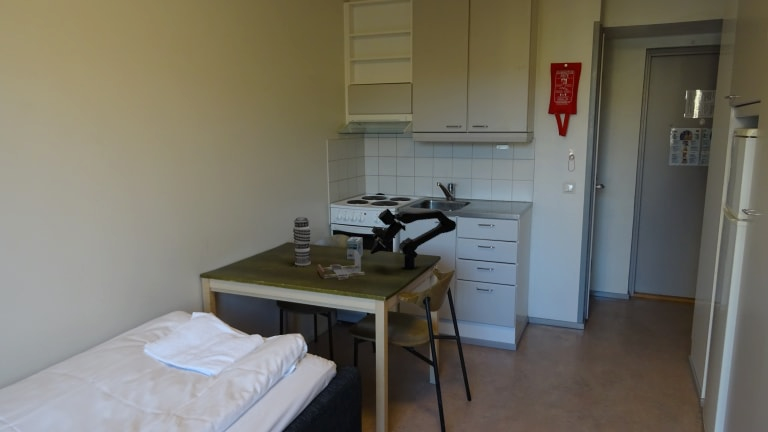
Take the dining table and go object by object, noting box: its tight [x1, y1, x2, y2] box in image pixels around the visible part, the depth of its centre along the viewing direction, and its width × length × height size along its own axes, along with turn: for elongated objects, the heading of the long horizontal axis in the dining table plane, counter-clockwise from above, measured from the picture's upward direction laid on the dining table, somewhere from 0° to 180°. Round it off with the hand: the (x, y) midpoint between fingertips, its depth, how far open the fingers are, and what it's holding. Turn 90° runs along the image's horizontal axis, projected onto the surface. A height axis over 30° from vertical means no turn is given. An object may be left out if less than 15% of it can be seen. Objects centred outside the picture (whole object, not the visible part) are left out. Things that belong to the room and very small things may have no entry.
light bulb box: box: [346, 236, 364, 260], centre depth 293 cm, size 11×7×11 cm, turn 168°
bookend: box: [333, 251, 362, 276], centre depth 263 cm, size 12×10×10 cm
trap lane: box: [317, 263, 365, 281], centre depth 262 cm, size 21×23×4 cm
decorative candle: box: [292, 216, 312, 266], centre depth 279 cm, size 9×9×25 cm
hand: (370, 253), depth 265 cm, fingers closed
